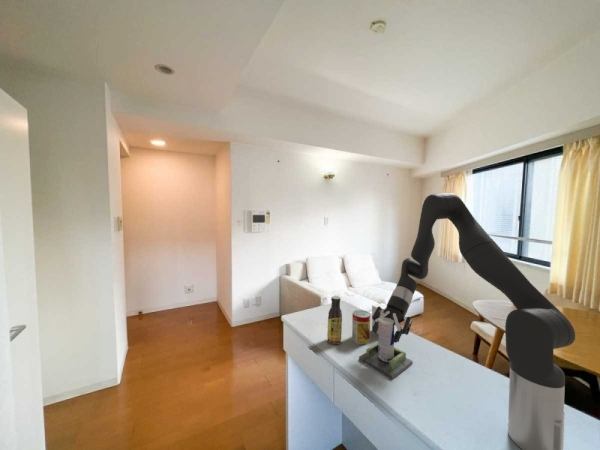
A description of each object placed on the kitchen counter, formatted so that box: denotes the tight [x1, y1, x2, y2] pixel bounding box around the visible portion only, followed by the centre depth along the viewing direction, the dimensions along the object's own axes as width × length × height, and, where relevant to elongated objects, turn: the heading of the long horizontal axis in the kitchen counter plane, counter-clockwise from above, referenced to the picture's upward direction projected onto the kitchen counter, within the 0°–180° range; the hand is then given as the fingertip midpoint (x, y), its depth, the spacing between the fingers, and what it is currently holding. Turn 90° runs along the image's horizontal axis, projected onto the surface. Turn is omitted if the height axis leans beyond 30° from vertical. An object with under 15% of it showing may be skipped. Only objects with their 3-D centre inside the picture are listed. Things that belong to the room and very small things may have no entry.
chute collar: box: [358, 342, 414, 380], centre depth 87 cm, size 14×14×4 cm
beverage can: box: [377, 317, 395, 362], centre depth 87 cm, size 6×6×15 cm
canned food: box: [351, 309, 371, 345], centre depth 104 cm, size 8×8×12 cm
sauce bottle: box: [326, 295, 343, 345], centre depth 102 cm, size 7×6×20 cm
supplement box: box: [371, 302, 387, 335], centre depth 111 cm, size 7×7×13 cm
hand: (383, 336), depth 86 cm, fingers open, 8 cm apart
